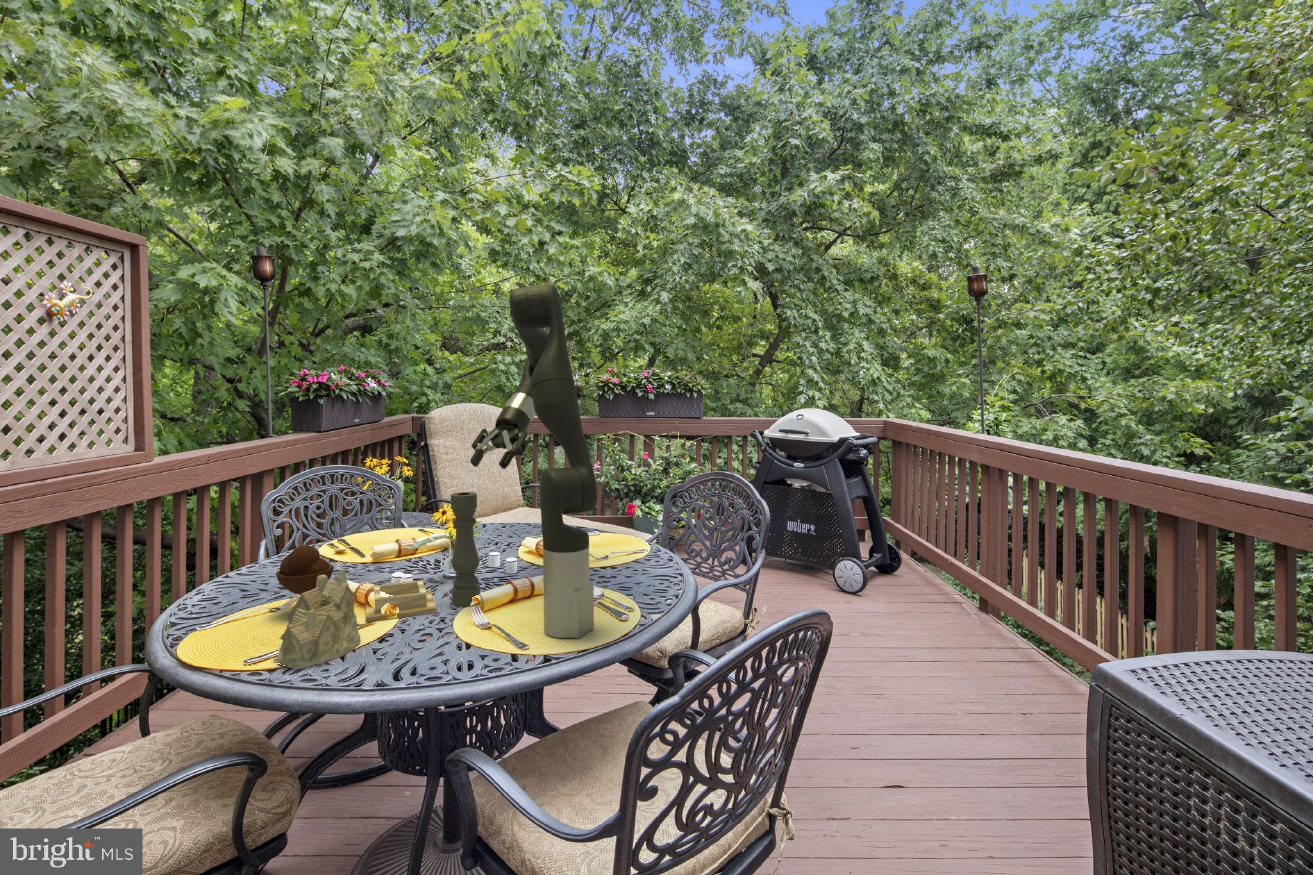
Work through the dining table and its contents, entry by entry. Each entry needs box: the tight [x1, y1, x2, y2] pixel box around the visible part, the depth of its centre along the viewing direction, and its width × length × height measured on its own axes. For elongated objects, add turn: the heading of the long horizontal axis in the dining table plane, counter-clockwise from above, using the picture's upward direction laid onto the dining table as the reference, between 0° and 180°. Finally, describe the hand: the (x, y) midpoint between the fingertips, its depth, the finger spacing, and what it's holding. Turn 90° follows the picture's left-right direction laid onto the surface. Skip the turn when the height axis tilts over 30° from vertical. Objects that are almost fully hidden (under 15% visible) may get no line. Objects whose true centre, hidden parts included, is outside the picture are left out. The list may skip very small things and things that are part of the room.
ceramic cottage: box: [275, 568, 362, 670], centre depth 121 cm, size 16×16×15 cm
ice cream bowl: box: [275, 544, 335, 596], centre depth 140 cm, size 11×11×15 cm
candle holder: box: [450, 491, 481, 608], centre depth 146 cm, size 6×6×25 cm
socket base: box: [365, 579, 437, 623], centre depth 144 cm, size 14×14×4 cm
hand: (487, 465), depth 152 cm, fingers open, 8 cm apart
